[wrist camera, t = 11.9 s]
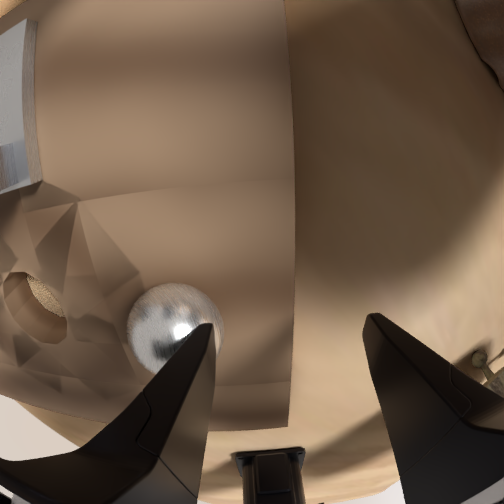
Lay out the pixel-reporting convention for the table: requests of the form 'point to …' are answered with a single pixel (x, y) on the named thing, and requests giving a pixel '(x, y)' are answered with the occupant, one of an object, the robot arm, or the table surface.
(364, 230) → the table surface
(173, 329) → the ball
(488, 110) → the table surface
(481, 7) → the plant pot
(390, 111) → the table surface
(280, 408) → the wooden cutting board
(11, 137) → the cover
